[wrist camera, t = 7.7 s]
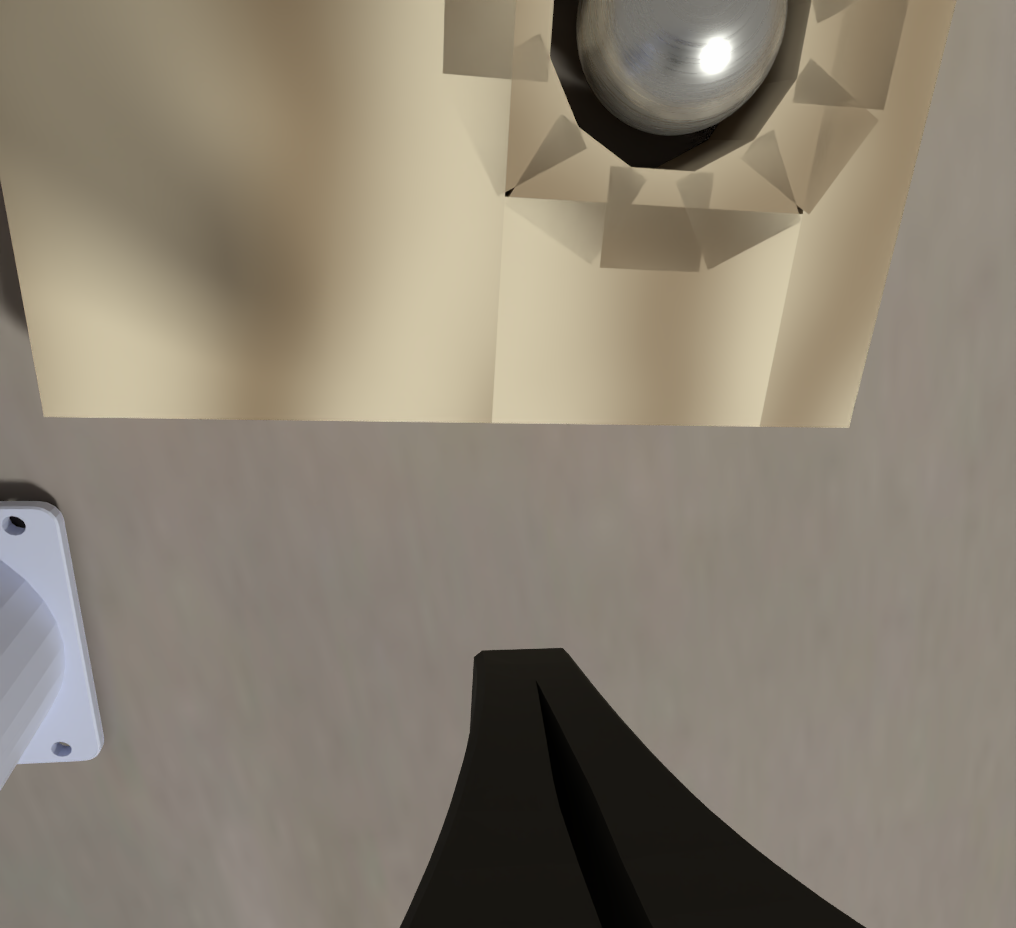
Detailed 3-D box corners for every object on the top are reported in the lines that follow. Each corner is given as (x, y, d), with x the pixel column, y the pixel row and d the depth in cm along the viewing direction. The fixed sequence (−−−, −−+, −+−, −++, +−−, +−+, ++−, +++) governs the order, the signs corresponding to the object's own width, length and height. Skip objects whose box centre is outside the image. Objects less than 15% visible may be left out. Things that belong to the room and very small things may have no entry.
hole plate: (89, 381, 18) (44, 416, 15) (-68, -615, 12) (-181, -799, 9) (798, 395, 20) (848, 428, 18) (975, -408, 14) (1085, -513, 12)
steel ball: (862, 25, 13) (776, 102, 17) (762, -206, 12) (697, -71, 16) (655, 141, 13) (618, 190, 17) (547, -81, 13) (535, 23, 16)
